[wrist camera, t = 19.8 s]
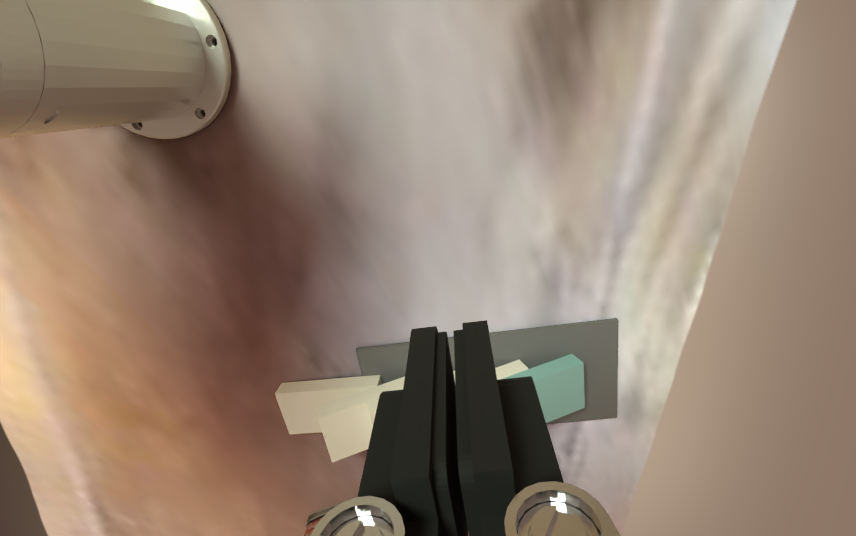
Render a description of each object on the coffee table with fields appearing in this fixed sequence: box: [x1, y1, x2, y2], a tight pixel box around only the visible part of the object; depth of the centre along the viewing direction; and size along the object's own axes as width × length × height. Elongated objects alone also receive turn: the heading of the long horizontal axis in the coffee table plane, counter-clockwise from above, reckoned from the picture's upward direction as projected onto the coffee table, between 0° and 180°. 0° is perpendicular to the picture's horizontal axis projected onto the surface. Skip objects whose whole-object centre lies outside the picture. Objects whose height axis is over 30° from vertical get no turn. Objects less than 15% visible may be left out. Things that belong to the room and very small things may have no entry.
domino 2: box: [316, 376, 405, 463], centre depth 43 cm, size 2×6×11 cm
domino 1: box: [275, 375, 382, 434], centre depth 46 cm, size 2×6×11 cm
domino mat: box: [356, 318, 618, 424], centre depth 45 cm, size 26×12×1 cm, turn 99°
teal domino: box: [503, 354, 585, 423], centre depth 42 cm, size 2×6×11 cm
